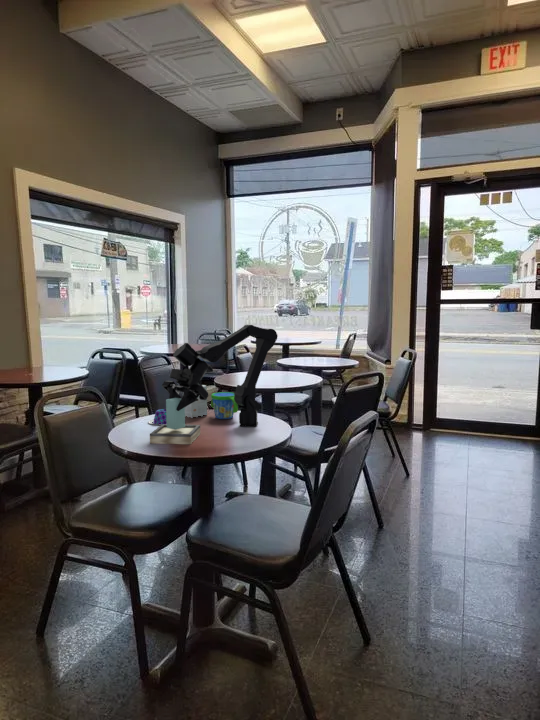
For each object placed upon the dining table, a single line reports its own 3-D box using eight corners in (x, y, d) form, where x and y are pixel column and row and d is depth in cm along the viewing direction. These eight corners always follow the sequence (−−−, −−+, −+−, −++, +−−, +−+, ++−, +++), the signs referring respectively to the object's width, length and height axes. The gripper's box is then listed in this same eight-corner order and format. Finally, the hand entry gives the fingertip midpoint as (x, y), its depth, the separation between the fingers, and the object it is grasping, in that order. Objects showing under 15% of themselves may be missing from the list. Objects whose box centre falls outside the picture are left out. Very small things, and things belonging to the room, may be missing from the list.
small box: (199, 413, 207) (198, 384, 206) (207, 415, 202) (207, 385, 201) (183, 416, 201) (182, 386, 200) (191, 418, 197) (191, 387, 196)
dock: (200, 433, 171) (200, 424, 171) (190, 444, 157) (190, 434, 157) (162, 433, 172) (162, 424, 172) (150, 443, 159) (149, 433, 158)
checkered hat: (166, 418, 198) (165, 406, 198) (184, 422, 191) (184, 409, 190) (142, 423, 189) (141, 410, 189) (160, 428, 182) (160, 414, 181)
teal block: (176, 425, 168) (175, 397, 167) (185, 427, 165) (184, 398, 164) (166, 427, 164) (165, 399, 163) (175, 429, 161) (174, 400, 160)
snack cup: (245, 419, 195) (245, 395, 194) (223, 423, 188) (223, 397, 188) (225, 413, 207) (225, 390, 206) (204, 416, 201) (203, 392, 200)
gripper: (165, 358, 171) (141, 392, 163) (201, 361, 160) (178, 398, 152) (181, 377, 178) (159, 411, 170) (218, 381, 167) (196, 418, 159)
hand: (172, 409), depth 163 cm, fingers closed on teal block, 4 cm apart
